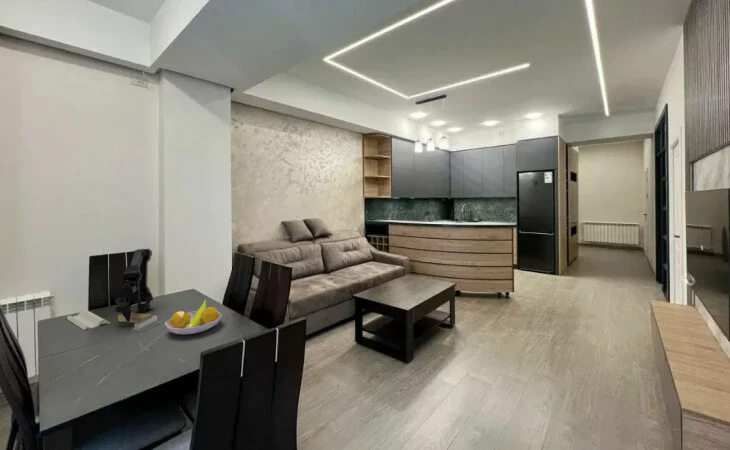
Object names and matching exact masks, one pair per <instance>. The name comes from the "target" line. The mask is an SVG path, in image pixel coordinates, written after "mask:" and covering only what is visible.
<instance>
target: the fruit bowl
mask: <svg viewBox="0 0 730 450" xmlns="http://www.w3.org/2000/svg"><path fill="white" fill-rule="evenodd" d="M222 316H223V314H222V313H221V312H220V311H219V310H218V308H216V307H213V306H211V307H210V306H209V307H207V299H204V301H203V303H202V305H201V306H200V307H199V308H198V310H195V311H187V312H185V311H183V310H179V311H176V312H175V313H174V314H173V315H172V317H170V318H169V319H168V320H167V321H165V323H164V324H165V326H166V328H167V329H168V332H171V333H173V334H177V335H185V336H187V335H192V334H193V335H194V334H197V333H204V332H205V331H207V330H209V329H211V328H213V327H214V326H216V325H218V323H219V321H220V320H221V318H222Z"/></svg>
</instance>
